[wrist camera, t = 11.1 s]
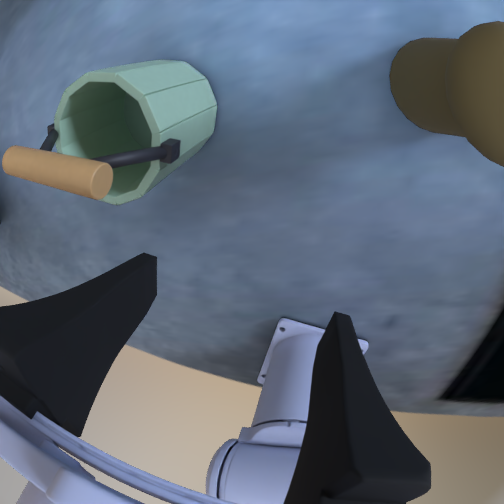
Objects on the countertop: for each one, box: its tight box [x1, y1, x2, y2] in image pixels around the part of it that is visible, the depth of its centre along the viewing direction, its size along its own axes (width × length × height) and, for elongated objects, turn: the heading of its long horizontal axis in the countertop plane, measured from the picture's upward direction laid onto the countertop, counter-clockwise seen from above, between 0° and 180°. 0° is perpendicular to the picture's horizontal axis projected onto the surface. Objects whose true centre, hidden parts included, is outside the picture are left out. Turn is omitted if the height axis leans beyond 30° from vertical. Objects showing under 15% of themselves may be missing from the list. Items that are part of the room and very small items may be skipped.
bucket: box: [2, 60, 217, 205], centre depth 15 cm, size 7×8×11 cm
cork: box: [390, 21, 504, 167], centre depth 10 cm, size 6×6×11 cm
